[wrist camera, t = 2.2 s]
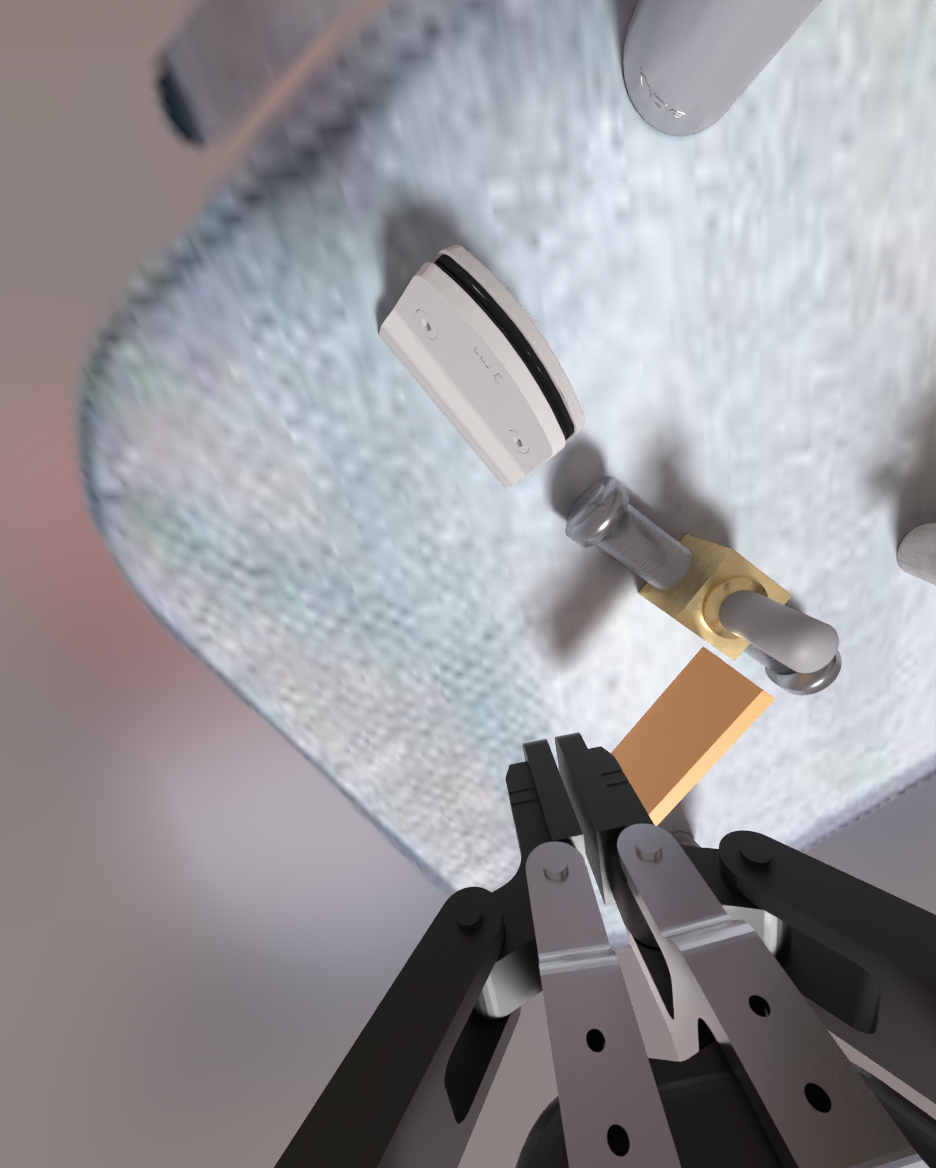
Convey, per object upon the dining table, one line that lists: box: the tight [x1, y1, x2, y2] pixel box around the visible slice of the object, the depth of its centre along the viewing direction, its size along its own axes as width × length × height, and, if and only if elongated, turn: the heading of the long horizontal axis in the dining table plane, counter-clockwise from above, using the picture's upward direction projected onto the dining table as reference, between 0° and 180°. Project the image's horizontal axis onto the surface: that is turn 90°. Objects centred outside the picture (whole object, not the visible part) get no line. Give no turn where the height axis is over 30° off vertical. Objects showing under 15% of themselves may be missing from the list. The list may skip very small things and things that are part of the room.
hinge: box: [379, 244, 585, 488], centre depth 34 cm, size 17×5×10 cm, turn 41°
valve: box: [565, 476, 841, 695], centre depth 40 cm, size 7×28×8 cm, turn 56°
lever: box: [611, 590, 839, 826], centre depth 34 cm, size 19×4×7 cm, turn 146°
